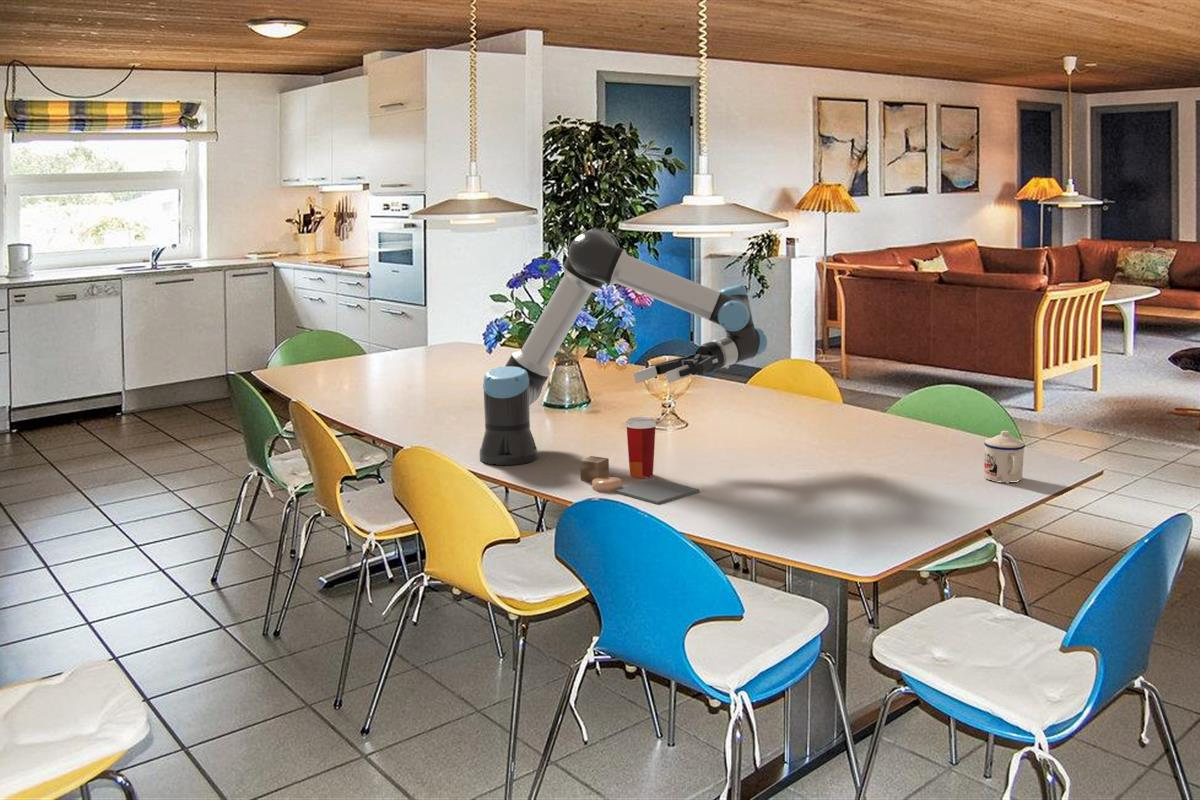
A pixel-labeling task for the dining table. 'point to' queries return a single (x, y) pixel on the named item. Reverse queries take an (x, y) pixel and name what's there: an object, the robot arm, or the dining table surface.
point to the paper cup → (641, 446)
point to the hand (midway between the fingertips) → (651, 377)
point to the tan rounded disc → (606, 484)
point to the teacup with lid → (1003, 458)
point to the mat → (656, 491)
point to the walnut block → (594, 468)
